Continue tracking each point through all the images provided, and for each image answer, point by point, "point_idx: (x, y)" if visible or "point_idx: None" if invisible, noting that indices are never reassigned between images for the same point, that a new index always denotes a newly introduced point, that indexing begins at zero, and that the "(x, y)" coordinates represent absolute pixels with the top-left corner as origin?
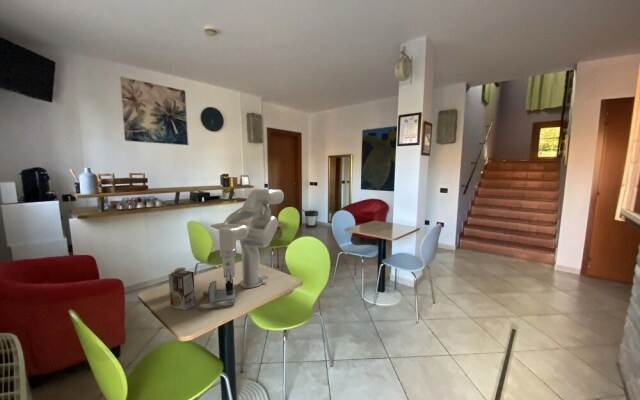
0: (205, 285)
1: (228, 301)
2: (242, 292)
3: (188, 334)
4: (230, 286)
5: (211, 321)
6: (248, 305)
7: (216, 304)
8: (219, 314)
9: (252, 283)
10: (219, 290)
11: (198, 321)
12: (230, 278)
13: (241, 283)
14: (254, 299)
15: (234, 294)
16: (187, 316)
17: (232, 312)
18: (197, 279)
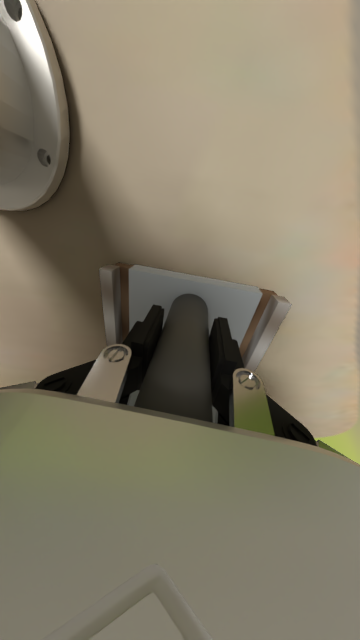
0: (28, 358)
1: (272, 328)
2: (128, 212)
3: (350, 426)
4: (240, 356)
5: (334, 380)
6: (341, 203)
7: (253, 369)
8: (305, 353)
9: (14, 71)
10: (116, 342)
11: (297, 404)
12: (210, 410)
13: (7, 198)
14: (286, 127)
15: (210, 287)
16: None
17: (338, 308)
18: None
